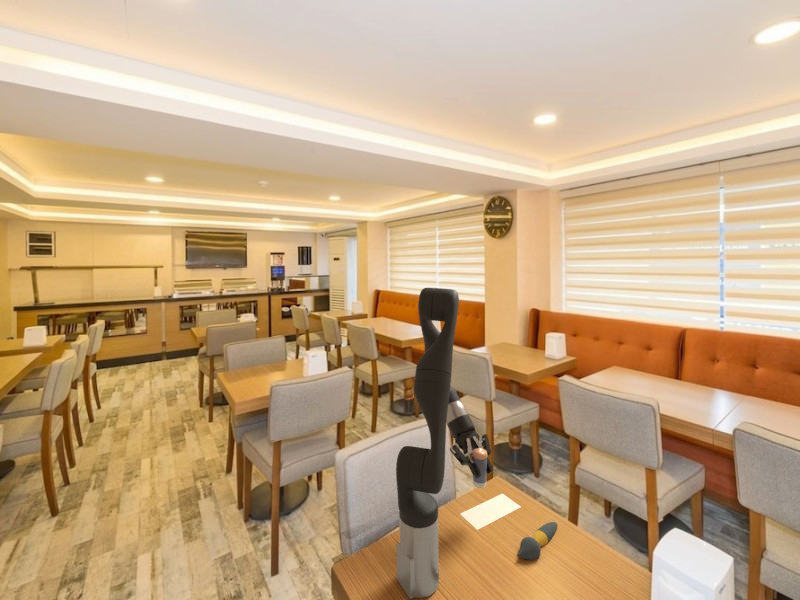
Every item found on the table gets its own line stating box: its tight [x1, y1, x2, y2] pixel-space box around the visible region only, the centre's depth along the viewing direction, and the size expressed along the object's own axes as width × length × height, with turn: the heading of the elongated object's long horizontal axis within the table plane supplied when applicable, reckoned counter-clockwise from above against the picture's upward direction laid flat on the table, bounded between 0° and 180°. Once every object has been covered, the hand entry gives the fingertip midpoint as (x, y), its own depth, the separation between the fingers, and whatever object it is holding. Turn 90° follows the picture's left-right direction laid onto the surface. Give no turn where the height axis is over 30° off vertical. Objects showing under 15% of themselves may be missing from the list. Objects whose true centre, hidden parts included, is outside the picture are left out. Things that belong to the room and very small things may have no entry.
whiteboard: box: [459, 493, 522, 531], centre depth 108 cm, size 20×9×1 cm, turn 120°
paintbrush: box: [516, 521, 558, 561], centre depth 96 cm, size 20×5×5 cm, turn 137°
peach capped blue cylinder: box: [472, 448, 488, 489], centre depth 104 cm, size 4×4×10 cm
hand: (484, 474), depth 103 cm, fingers closed on peach capped blue cylinder, 4 cm apart
